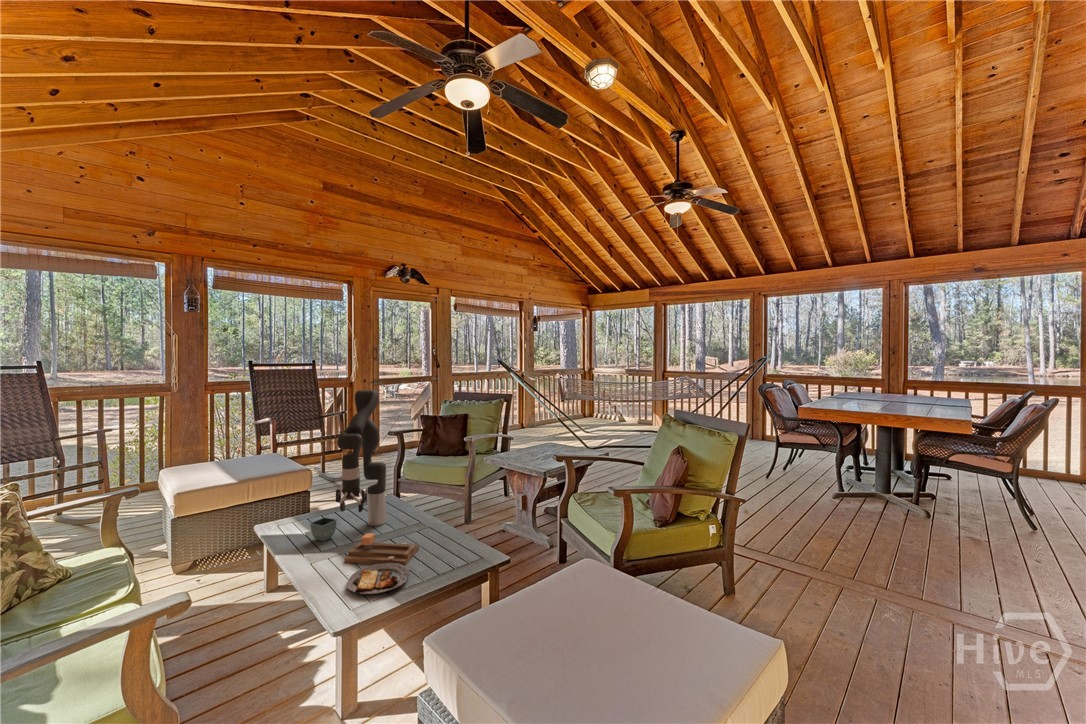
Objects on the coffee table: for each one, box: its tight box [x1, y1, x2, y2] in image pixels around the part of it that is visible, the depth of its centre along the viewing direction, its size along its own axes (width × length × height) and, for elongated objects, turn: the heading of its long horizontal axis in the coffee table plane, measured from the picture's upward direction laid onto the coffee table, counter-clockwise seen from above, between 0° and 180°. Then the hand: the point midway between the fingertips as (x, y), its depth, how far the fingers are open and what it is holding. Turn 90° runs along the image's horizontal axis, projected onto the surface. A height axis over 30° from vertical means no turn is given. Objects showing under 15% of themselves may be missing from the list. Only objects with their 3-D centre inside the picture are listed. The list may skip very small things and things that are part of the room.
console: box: [344, 541, 420, 566], centre depth 204 cm, size 16×28×4 cm, turn 84°
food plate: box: [345, 563, 410, 595], centre depth 181 cm, size 25×23×4 cm
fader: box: [361, 532, 376, 550], centre depth 204 cm, size 5×4×7 cm
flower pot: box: [309, 516, 337, 542], centre depth 221 cm, size 9×9×9 cm
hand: (351, 511), depth 204 cm, fingers open, 8 cm apart
